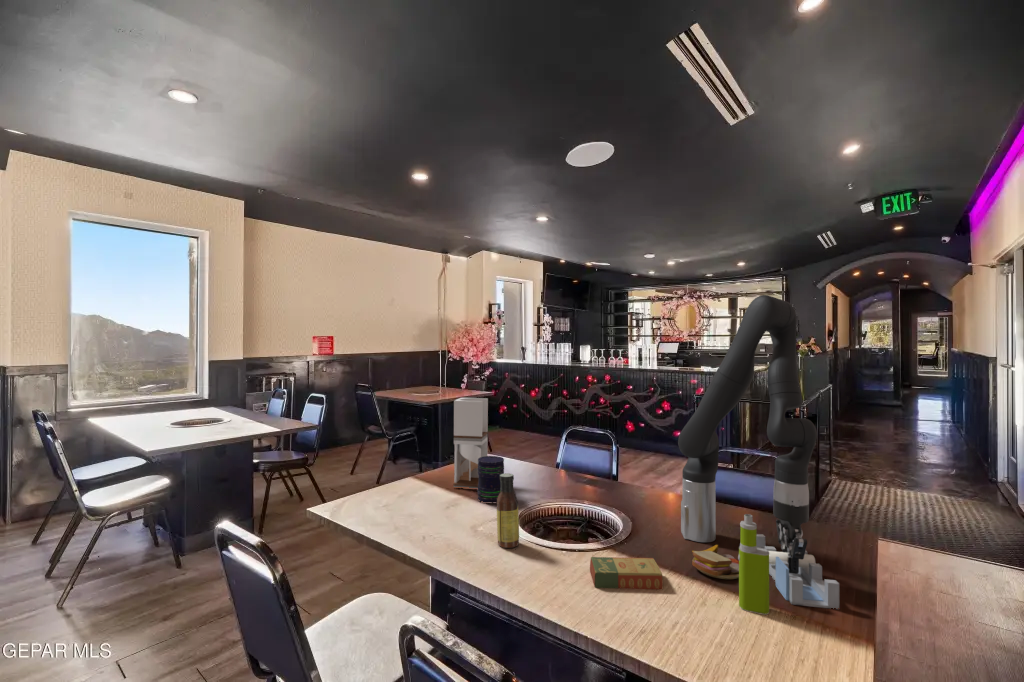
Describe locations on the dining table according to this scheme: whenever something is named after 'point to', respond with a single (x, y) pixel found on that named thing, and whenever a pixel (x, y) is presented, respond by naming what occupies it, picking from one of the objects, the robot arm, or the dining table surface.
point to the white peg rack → (802, 583)
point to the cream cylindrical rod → (784, 557)
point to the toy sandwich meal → (716, 564)
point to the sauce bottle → (507, 513)
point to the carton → (625, 573)
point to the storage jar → (489, 477)
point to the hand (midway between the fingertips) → (790, 569)
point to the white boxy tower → (469, 439)
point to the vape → (752, 570)
